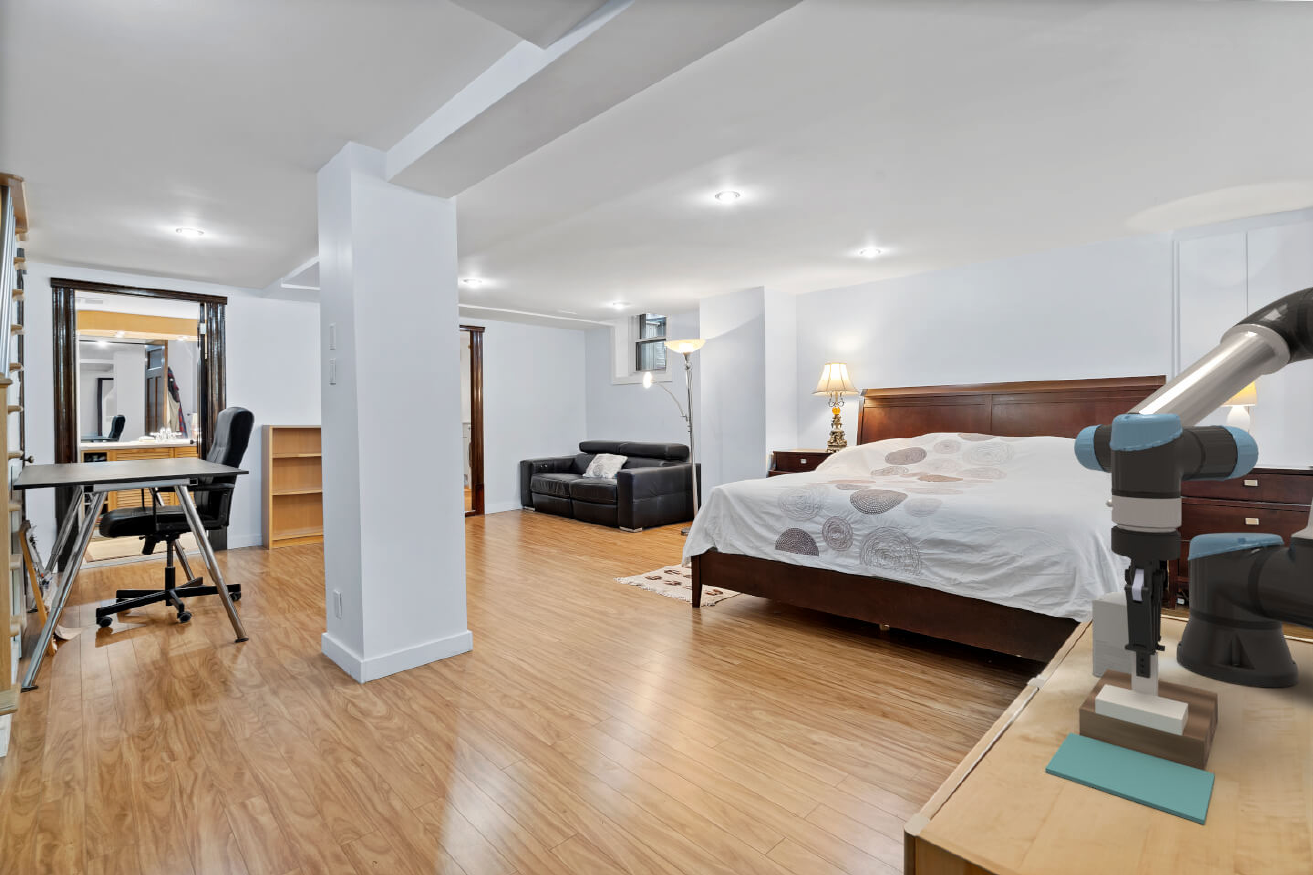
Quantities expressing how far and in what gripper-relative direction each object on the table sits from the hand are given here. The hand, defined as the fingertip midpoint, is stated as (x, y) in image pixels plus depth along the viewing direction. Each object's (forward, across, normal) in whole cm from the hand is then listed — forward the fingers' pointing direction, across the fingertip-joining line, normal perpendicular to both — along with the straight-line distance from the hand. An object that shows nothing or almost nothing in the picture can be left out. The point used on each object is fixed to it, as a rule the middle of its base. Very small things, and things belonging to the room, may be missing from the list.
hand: (1144, 697), depth 87 cm
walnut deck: (+5, -2, 0) cm, 6 cm away
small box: (+5, -22, -6) cm, 23 cm away
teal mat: (+5, +13, 0) cm, 14 cm away
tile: (+1, +4, 0) cm, 4 cm away
